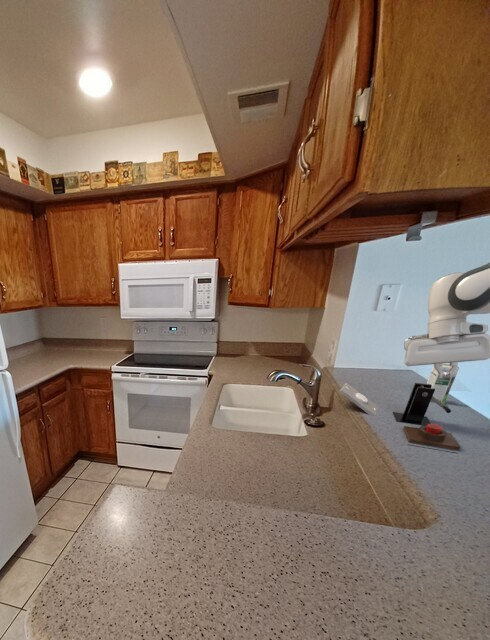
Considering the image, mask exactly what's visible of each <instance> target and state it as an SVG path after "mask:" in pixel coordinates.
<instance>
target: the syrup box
mask: <svg viewBox="0 0 490 640" xmlns="http://www.w3.org/2000/svg"><path fill="white" fill-rule="evenodd" d="M451 367H452V366H451ZM451 367H450V363H442V367H440V368H441V370H442V371H443V372H449V370H450V369H451ZM459 370H460V367H459V366H457V367H456V369H455V370H454V371H453V377H452V378H442V379H439V373H438V372H437V371H436V369H435V368H434V365H432V369H431V371H430V374H429V376H428V379H427V382H426V384H431V385H432V387H431V388H434V389H435V391H434V394H433V397H435V398H436V399H437V400H439V401H440V402H442V403H443V404H446V400H447V399H448V396H449V394H450V391H451V389H452V386H453V384H454V383H455V382H454V381H455V379H456V377H457V374H458V372H459ZM430 403H433V404H436V403H435V402H433V401H432V400H431V401H430Z"/></svg>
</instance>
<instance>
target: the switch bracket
mask: <svg viewBox="0 0 490 640" xmlns="http://www.w3.org/2000/svg"><path fill="white" fill-rule="evenodd" d="M421 385H423V386H424V387H420V386H421ZM425 387H426V388H425ZM431 387H432V385H431V384H427V383H423V382H422V383H421V382H414V385H413V387H412V389H411V393H410V395H409V397H408V400H407V403H406V405H405V408H404V411H403V412H396V411H392V415H393V417H394V420H395V422H396V423H403V424H410V425H415V426H416V425H417V426H426V425H428V424H432V423H431V421H430V420H429V418H428V416H426V413H427V412H428V411H427V410H428V408H429V405H430V403H431V402H430V401H431V399H432V396H433V394H434V391H435V389H434V388H431ZM416 389H417V390H416ZM415 390H416V391H415Z"/></svg>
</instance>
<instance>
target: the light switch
mask: <svg viewBox="0 0 490 640" xmlns="http://www.w3.org/2000/svg"><path fill="white" fill-rule="evenodd" d="M339 393H341V394H342V395H343V396H344V397H345V398H347V399H348V400H349V401H351V402H352V403H353V404H355V405H356V406H357V407H358V408H360V409H361V410H362V411H364V412H365V414H367V415H369V416H373V417H374V416H377V414H378V412H379V411H380V409H381V408H380V407H379V406H378V405H377V404H375V403H374V402H372V401H371V400H370V399H369V398H367V397H366V396H365V395H364V394H362V393H360V392H359V391H358V390H357V389H355V388H354V387H353V386H352V385H350V384H349V383H348V382H346V383H345V384H343V386H341V388H340V389H339Z"/></svg>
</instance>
